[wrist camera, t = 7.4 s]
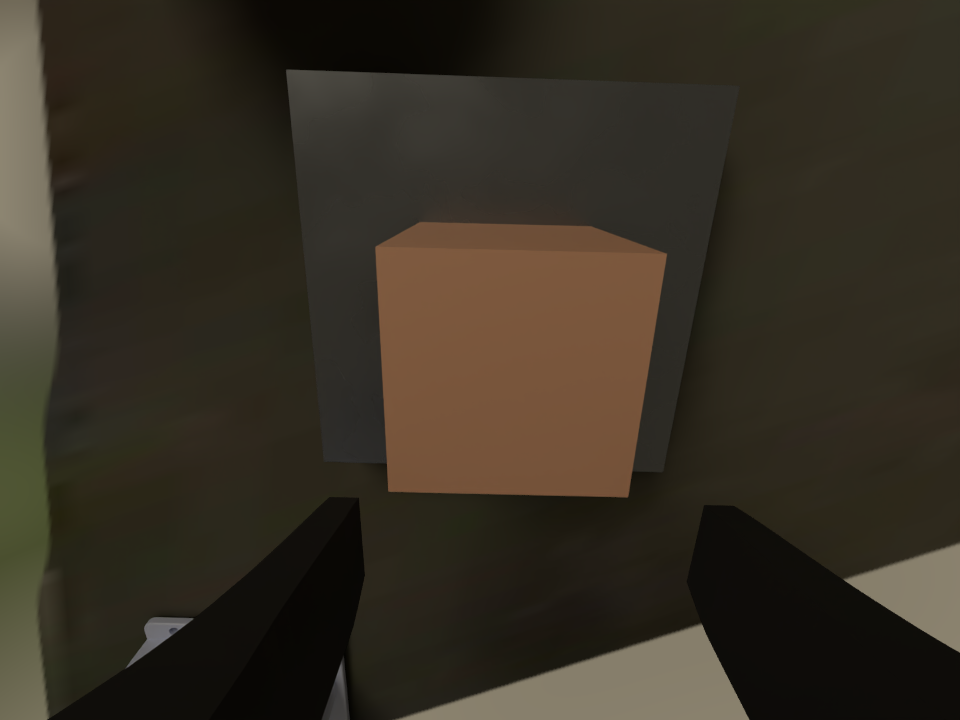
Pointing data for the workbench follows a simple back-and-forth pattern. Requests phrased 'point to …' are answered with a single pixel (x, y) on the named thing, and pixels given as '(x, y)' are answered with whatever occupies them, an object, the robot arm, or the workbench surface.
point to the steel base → (494, 204)
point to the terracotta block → (514, 357)
